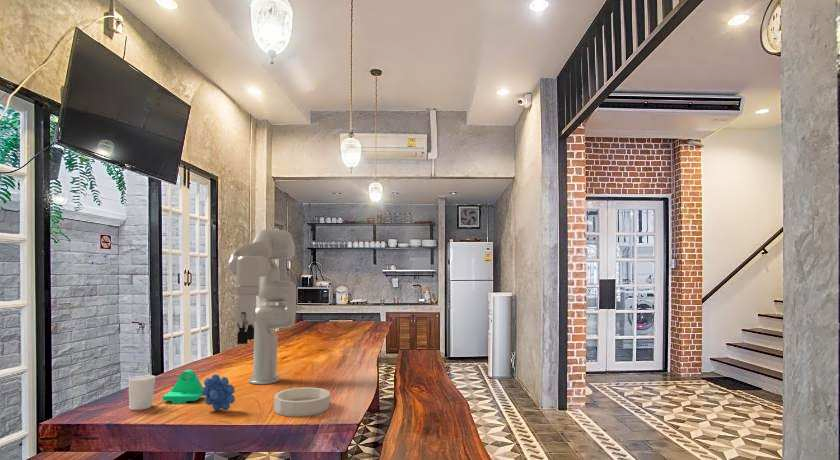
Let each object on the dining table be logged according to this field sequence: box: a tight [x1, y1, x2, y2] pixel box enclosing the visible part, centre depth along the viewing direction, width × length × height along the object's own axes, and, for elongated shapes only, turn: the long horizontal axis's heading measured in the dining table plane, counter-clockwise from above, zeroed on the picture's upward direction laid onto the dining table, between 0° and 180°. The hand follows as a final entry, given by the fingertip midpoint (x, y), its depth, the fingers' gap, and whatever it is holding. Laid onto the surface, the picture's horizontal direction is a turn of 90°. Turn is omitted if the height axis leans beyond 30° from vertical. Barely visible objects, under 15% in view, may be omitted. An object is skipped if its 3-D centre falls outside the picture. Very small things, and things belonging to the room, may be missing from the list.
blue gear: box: [201, 373, 236, 412], centre depth 160 cm, size 12×7×12 cm, turn 86°
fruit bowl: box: [273, 386, 331, 418], centre depth 164 cm, size 18×18×5 cm
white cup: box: [128, 374, 156, 411], centre depth 164 cm, size 8×8×10 cm
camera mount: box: [162, 369, 205, 404], centre depth 173 cm, size 12×8×10 cm, turn 92°
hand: (245, 341), depth 164 cm, fingers open, 9 cm apart
